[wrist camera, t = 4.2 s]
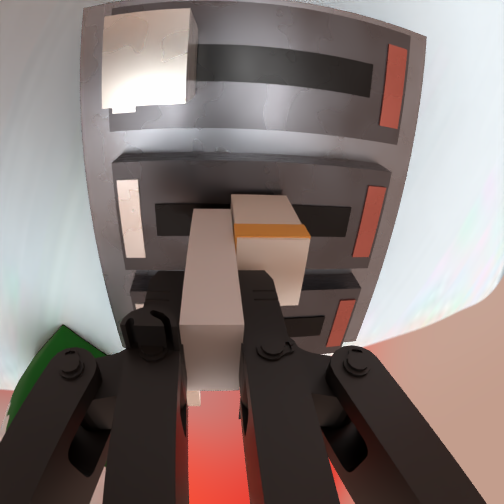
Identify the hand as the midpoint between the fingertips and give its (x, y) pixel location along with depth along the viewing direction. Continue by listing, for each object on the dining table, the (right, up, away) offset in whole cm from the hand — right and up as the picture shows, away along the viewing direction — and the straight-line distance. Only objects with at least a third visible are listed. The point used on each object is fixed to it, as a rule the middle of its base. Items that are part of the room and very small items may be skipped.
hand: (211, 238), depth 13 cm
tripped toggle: (+2, +1, +1) cm, 2 cm away
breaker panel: (+1, +3, +4) cm, 5 cm away
